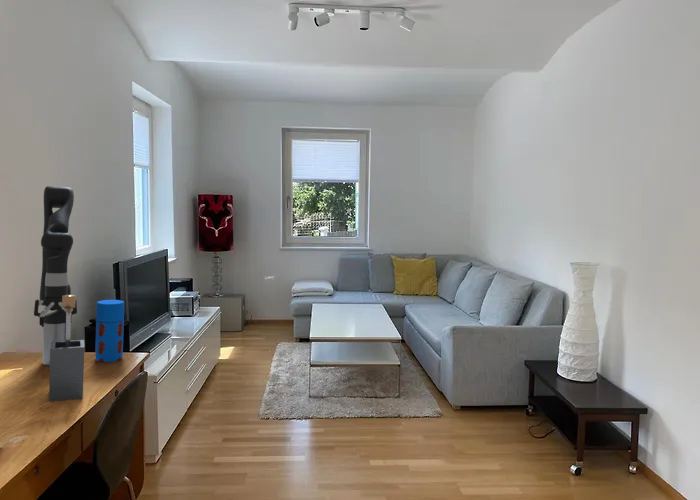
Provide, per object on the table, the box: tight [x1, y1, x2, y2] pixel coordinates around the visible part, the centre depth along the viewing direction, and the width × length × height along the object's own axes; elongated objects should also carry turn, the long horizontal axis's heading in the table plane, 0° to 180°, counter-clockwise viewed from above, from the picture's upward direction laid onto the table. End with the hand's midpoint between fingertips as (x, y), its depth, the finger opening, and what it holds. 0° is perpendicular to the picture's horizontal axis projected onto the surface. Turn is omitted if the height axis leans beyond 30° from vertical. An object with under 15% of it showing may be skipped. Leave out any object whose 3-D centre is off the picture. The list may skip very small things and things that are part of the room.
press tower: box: [48, 339, 85, 403], centre depth 170 cm, size 10×10×18 cm
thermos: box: [94, 299, 125, 363], centre depth 212 cm, size 11×11×25 cm
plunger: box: [62, 294, 77, 347], centre depth 169 cm, size 7×7×26 cm
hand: (55, 325), depth 189 cm, fingers open, 8 cm apart
